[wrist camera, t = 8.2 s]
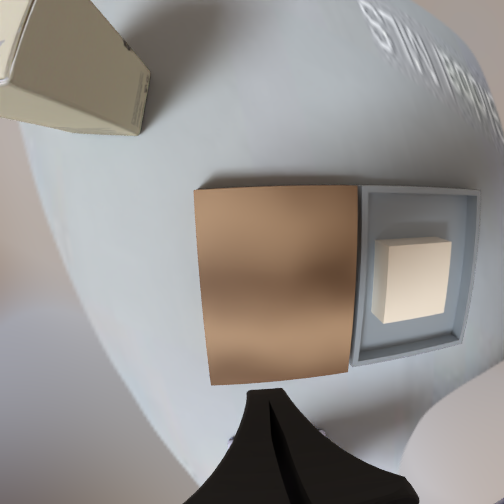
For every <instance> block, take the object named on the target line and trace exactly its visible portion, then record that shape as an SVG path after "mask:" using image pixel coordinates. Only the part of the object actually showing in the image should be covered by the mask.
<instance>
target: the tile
mask: <svg viewBox="0 0 504 504" xmlns="http://www.w3.org/2000/svg"><path fill="white" fill-rule="evenodd" d="M451 244H452V242H451V241H448V240H445V239H442V238H439V237H435V236H434V237H417V238H401V239H385V240H375V256H374V278H373V294H372V308H371V312H372V313H373V314H374V315H375V316H376V317H377V318H378V319H379V320H380V321H381V322H382V323H383V324H385V323H391V322H397V321H403V320H409V319H414V318H419V317H425V316H430V315H435V314H440V313H444V307H445V301H446V293H447V286H448V277H449V268H450V257H451Z"/></svg>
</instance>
